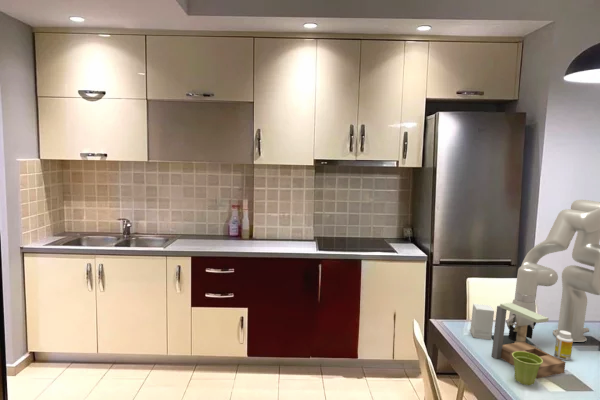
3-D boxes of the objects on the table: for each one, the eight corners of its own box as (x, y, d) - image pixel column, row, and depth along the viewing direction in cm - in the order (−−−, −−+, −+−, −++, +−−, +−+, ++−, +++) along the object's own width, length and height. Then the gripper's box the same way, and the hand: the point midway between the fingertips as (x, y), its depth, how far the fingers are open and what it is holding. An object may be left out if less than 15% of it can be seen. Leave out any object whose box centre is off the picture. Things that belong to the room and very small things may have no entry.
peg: (518, 343, 188) (521, 320, 187) (527, 347, 184) (529, 323, 183) (511, 344, 186) (514, 321, 185) (519, 348, 183) (522, 324, 181)
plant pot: (542, 390, 150) (545, 365, 149) (512, 385, 153) (514, 360, 152) (536, 377, 159) (539, 353, 158) (507, 372, 162) (510, 349, 161)
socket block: (522, 351, 180) (523, 341, 180) (564, 372, 164) (565, 362, 164) (496, 355, 175) (497, 345, 174) (536, 378, 158) (538, 367, 158)
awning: (502, 354, 176) (508, 301, 174) (541, 375, 161) (548, 318, 158) (491, 356, 174) (497, 302, 172) (529, 378, 158) (537, 319, 156)
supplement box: (491, 340, 189) (494, 311, 188) (472, 337, 191) (475, 308, 189) (487, 333, 197) (490, 305, 195) (469, 330, 198) (472, 303, 197)
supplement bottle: (573, 359, 175) (577, 334, 174) (564, 361, 173) (567, 336, 172) (560, 353, 180) (563, 328, 179) (550, 355, 178) (554, 330, 177)
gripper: (532, 292, 190) (527, 332, 192) (501, 295, 183) (496, 337, 185) (548, 298, 183) (543, 340, 185) (517, 302, 176) (512, 345, 178)
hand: (520, 338), depth 185 cm, fingers open, 8 cm apart
